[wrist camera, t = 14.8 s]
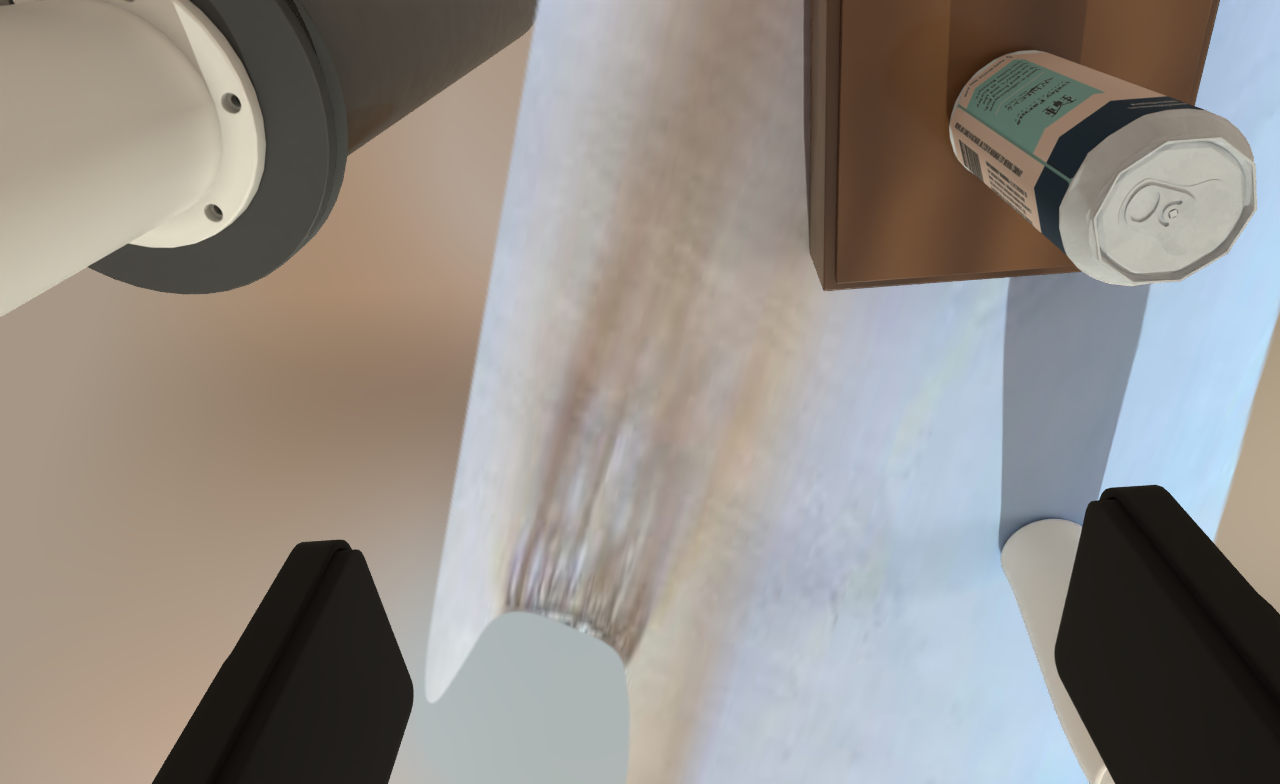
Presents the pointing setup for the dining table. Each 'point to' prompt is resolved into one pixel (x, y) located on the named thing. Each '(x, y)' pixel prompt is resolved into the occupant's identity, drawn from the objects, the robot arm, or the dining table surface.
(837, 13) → the walnut block
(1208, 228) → the beer can
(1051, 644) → the drinking glass
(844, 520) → the dining table surface
